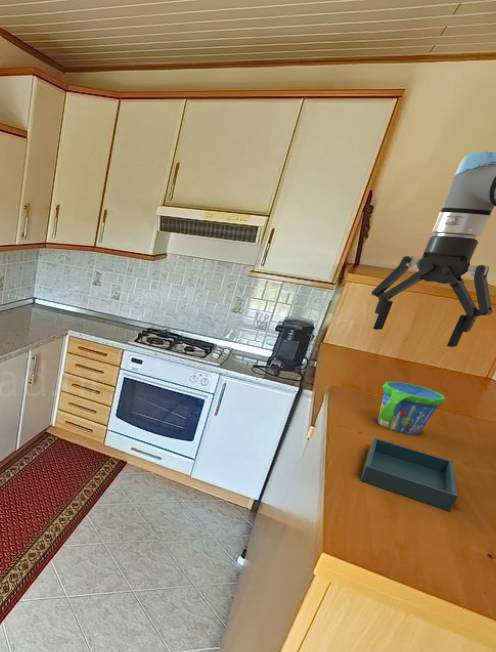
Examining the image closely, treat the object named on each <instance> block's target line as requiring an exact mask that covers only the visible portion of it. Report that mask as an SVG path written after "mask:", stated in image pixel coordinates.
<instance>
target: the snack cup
mask: <svg viewBox="0 0 496 652" xmlns="http://www.w3.org/2000/svg"><path fill="white" fill-rule="evenodd" d="M382 390H383V396H382V400H381V404H380V408H379V414H378V418H377V423H378V425H381V426H382V427H384V428H386V429H389V430H392V431H394V432H398V433H402V434H407V435H419V434H420V433H421V432H422V430H423V429H424V427H425V426H426V425H427V424H428V422H429V421H430V419H431V418H432V416H433V415H434V413H435V412H436V411H437V409H438V407H439V406H441V405H442V404H443V403H444V402H445V401H446V397H445V396H444V395H443V394H442V393H440V392H438V391H435V390H434V389H430V388H427V387H424V386H422V385H421V386H420V385H416V384H413V383H407V382H401V381H387V382H385V383H384V384H383V385H382Z"/></svg>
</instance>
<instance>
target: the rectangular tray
mask: <svg viewBox="0 0 496 652" xmlns="http://www.w3.org/2000/svg"><path fill="white" fill-rule="evenodd" d="M454 465H455V463H454V461H453V460H450V459H448V458H443V457H440V456H436V455H433V454H430V453H427V452H424V451H420V450H417V449H413V448H410V447H406V446H403V445H400V444H397V443H393V442H389V441H387V440H383V439H379V438H377V437H373V439H372V441H371V444H370V446H369V449H368V451H367V455H366V459H365V462H364V465H363V469H362V473H361V476H360V480H359V481H360V482H363V483H365V484H369V485H371V486H374V487H378V488H380V489H383V490H386V491H389V492H392V493H395V494H397V495H401V496H404V497H406V498H409V499H412V500H415V501H418V502H420V503H424V504H426V505H430V506H433V507H435V508H438V509H441V510H444V511H447V512H450V513H451V510H452V509H453V507H454V505H455V503H456V502H457V499H458V497H459V495H458V489H457V480H456V472H455V466H454Z"/></svg>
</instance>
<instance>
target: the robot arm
mask: <svg viewBox="0 0 496 652" xmlns="http://www.w3.org/2000/svg"><path fill="white" fill-rule="evenodd" d="M495 207H496V151H475V152H471V153H468V154H466V155H464V156H463V158H462V159H461V161H460V163H459V165H458V168H457V170H456V172H455V173H454V175H453V176H452V181H451V184H450V186H449V190H448V192H447V195H446V198H445V200H444V203H443V205H442V208H441V209H440V212H439V213H438V216H437V219H436V221H435V224H434V226H433V229H432V233H434V235H431V236H429V239H428V241H427V244H426V246H425V248H424V251H423V255H422V256H421V257H420V258H415V257H414V256H410V255H405V256H403V257H402V258H401V260H400V262H399V264H398V265H397V267H396V268H395V269H393V270H392V272H390V274H389V275H387V276H386V277H385V278H384V279H383V280H382V281H381V282H380V283H379V284H378V285H377V286H376V287H375V288H374V289H372V291H371V295H372V296H374V297H377V298H378V302H377V304H376V307H375V310H374V314H376V315H377V317H376V320H375V322H374V325H373V328H372V329H373V330H376V331H378V330H383V329H384V326H385V324H386V321H387V319H388V316H389V314H390V312H391V308H392V306H393V303H394V301H393V300H391V299H392V298H394V297H396V296H397V295H399V294H401V293H402V292H404V291H406V290H408V289H409V288H411V287H412V286H414V285H416V284H417V283H419V282H422V281H423V280H424V282H430V283H431V282H432V283H433V282H435V283H437V284H441V285H442V284H443V285H447V284H449V286H450V288H451V289H452V290H453V292H454V294H455V296H456V297H457V300H458V301H459V303H460V305H461V307H462V309H463V311H464V312H465V314H460V316H459V318H458V319H457V322H456V324H455V327H454V329H453V331H452V333H451V336H450V338H449V340H448V342H447V344H446V347H449V348H455V347H457V346H458V344H459V343H460V340H461V339H462V338H461V337H462V335H463V333H470V331H471V330H472V329H473V327H474V324H475V322H476V320H477V318H479V317H480V316H481V317H482V316H490V315H492V314H493V313H494V311H493V306H492V300H491V294H490V289H489V284H488V278H487V277H488V273H489V270H490V266H489V265H485V264H479V265H471V261H472V258H473V255H474V253H475V251H476V248H477V246H478V244H479V241H478V239H477V238H478V237H481V236H482V235H483V233H484V230H485V228H486V226H487V223H488V221H489V220H490V219H489V218H490V216H491V214H492V212H493V210H494V208H495ZM415 265H416V266H417V269H418V271H416V272H415V273H413V274H412V275H410V276H409V277H408V278H406V279H404V280H403V281H401V282H400V283H398V284H396V285H395V286H392V285H394V284H395V283H396V281H399V279H400V278H401V277H402V276H403V275H404V274H405V273H406V272H407V271H408V270H409V269H410V268H413V267H414V266H415ZM468 272H470V275H471V276H472V277H473V283H474V284H473V285H474V289H475V294H476V295H475V296H476V300H477V301H476V302H477V305H476V303H475V301H474V300H473V298H472V296H471V295H470V292H469V291H468V288H467V287H466V285H465V281H464V279H463V277H462V276H463V275H465V274H466V273H468ZM391 286H392V287H391ZM389 288H390V289H389Z"/></svg>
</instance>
